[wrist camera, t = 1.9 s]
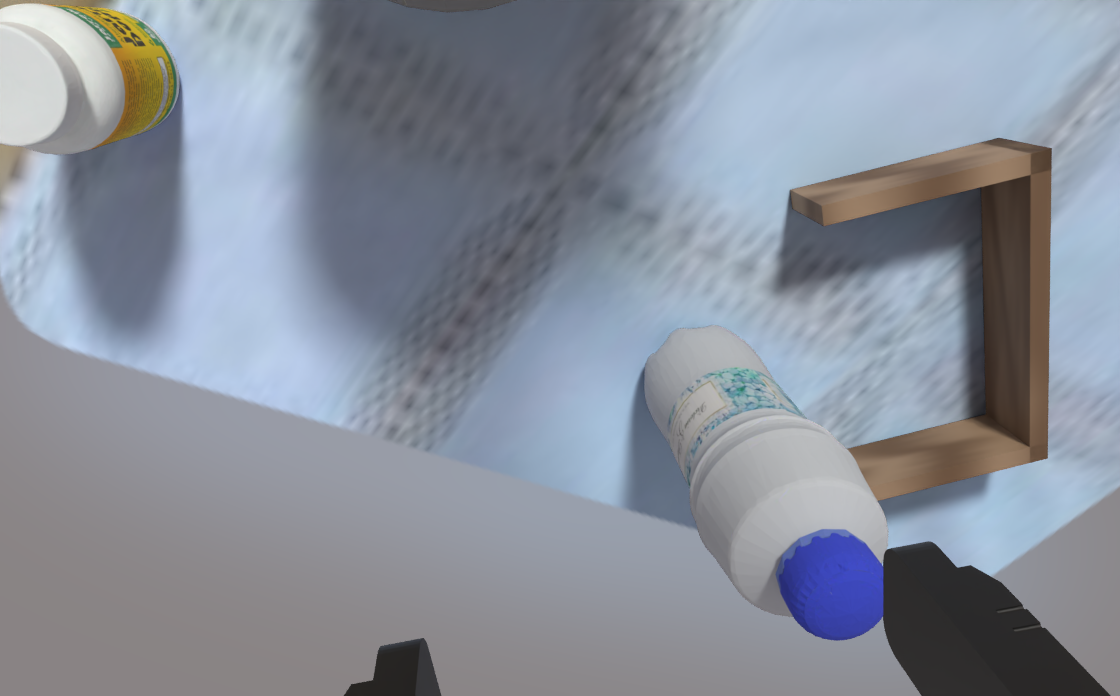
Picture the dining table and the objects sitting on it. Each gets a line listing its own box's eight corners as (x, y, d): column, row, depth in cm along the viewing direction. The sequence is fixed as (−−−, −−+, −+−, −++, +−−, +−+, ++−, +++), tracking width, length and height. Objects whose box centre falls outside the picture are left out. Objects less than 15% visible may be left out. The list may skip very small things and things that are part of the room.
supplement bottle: (50, 114, 36) (-91, 140, 27) (62, -10, 34) (-86, -26, 25) (175, 149, 37) (78, 186, 28) (192, 31, 35) (95, 30, 26)
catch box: (822, 469, 47) (851, 507, 43) (790, 189, 40) (821, 205, 37) (1002, 424, 47) (1047, 458, 43) (999, 137, 40) (1051, 148, 37)
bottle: (658, 296, 42) (800, 504, 23) (771, 330, 43) (991, 551, 25) (615, 407, 44) (714, 677, 25) (725, 435, 45) (894, 712, 27)
